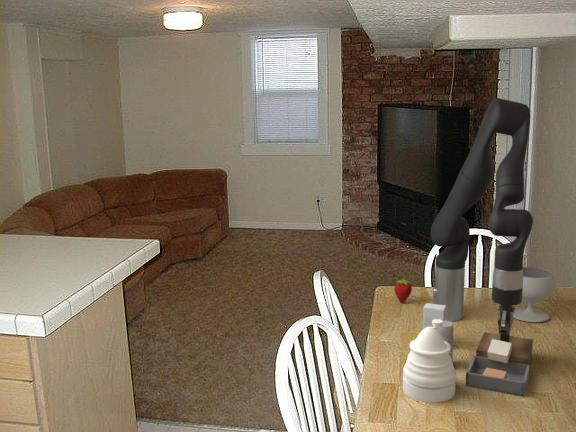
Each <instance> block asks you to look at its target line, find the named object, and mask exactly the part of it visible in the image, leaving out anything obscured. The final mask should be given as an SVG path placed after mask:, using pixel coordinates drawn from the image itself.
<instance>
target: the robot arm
mask: <svg viewBox="0 0 576 432" xmlns="http://www.w3.org/2000/svg"><path fill="white" fill-rule="evenodd" d="M530 110H531V109H530V107H529V106H528V105H527V104H526V103H523V102H518V101H514V100H508V99H503V98H494V99H493V100H491V102H490V103H489V105H488V106H487V108H486V109H485V112H484V115H483V118H482V120H481V123H480V126H479V128H478V131H477V134H476V137H475V139H474V142H473V144H472V147H471V149H470V150H469V153H468V155H467V157H466V159H465V161H464V162H463V165H462V166H461V169H460V170H459V173H458V175H457V177H456V179H455V182H454V185H452V186H453V187H452V188H451V191H449V195H448V196H447V198H446V200H445V202H444V204H443V206H442V208H441V209H440V210H439V212H438V213H437V215H436V217H435V218H434V220H433V222H432V225H431V227H430V239H431V241H432V243H433V244H434V245H435V246H437V247H440V248H444V250H442V251H441V252H440V253H439V254H437V255H436V257H435V266H434V267H435V268H434V269H435V270H434V273H435V274H434V288H433V289H432V304H438V305H446V306H447V308H446V320H447V321H450V322H456V321H461V320H462V319H463V318H464V308H465V307H464V306H465V305H464V303H465V276H466V275H465V273H466V272H465V271H466V261H467V259H468V256H469V247H470V237H471V235H470V233H471V232H470V225H469V223H468V220H467V219H466V218H465V217H463V215H464V214H465V213H466V212H467V211H468V210H469V209H471V208H472V207H473V206H474V205H475V204H476V203H477V202H478V201H479V200H481V198H483V196H484V195H485V193H486V192H487V190H488V188H489V186H490V184H491V182H492V180H493V178H494V176H495V200H494V203H493V208H492V210H491V213H490V216H489V219H488V228H489V231H490V233H491V234H492V235H493V236H495V237H515V239H514V240H512V241H511V242H507V243H501V244H498V245H497V246H496V247H495V249H494V264H493V265H494V266H493V271H492V285H491V286H492V287H491V288H492V289H491V300H492V301H493V303H496V304H497V305H498V304H499V305H498V308H497V314H496V315H497V316H498V317H497V318H498V319H497V326H498V334H500V341H504V342H509V340H510V336H511V332H512V327H513V323H514V317H513V316H514V313H515V309H516V307H515V306H518V305H521V303H522V302H523V299H522V293H523V267H524V253H525V249H526V245H527V242H528V239H529V237H530V235H531V231H532V229H533V225H534V217H533V216H532V213H531V212H530V211H529V210H527V209H523V208H522V209H521V208H520V209H518V208H517V209H516V208H515V209H513V208H506V207H509V206H514V205H518V204H521V203H522V202H523V201H524V199H525V162H526V155H527V149H528V141H529V136H530V135H529V134H530V127H531V111H530ZM496 133H497V134H500V135H505V136H510V137H511V139H512V144H511V147H510V149H509V151H508V153H507V154H506V155H505V156H504V158H503V159H502V160H501V162H500V163H499V164H498V167H497V169H496V173H495V168H494V162H493V158H492V152H491V143H492V140H493V138H494V136H495V134H496Z"/></svg>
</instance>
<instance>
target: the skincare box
mask: <svg viewBox="0 0 576 432" xmlns="http://www.w3.org/2000/svg"><path fill="white" fill-rule="evenodd" d="M446 308H447V306H446V305H438V304H433V303H429V302H428V303H427V302H426V303H425V305H424V306H423V309H422V314H423V317H422V318H423V319H422V322H423V323H422V330H423V329H425V328H426V327H433V324H432V320H433V319H440V320H446Z"/></svg>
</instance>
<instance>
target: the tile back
mask: <svg viewBox="0 0 576 432" xmlns="http://www.w3.org/2000/svg"><path fill="white" fill-rule="evenodd" d="M511 350H512V343H509V342H504V341H500V340H495V339H492V341H491V343H490V346H489V349H488V352H487V353H488V359H491V360H495V361H500V362H504V363H508V360H509V357H510V354H511Z"/></svg>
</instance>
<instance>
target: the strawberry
mask: <svg viewBox="0 0 576 432" xmlns="http://www.w3.org/2000/svg"><path fill="white" fill-rule="evenodd" d="M405 278H406V276H404V277H403V278H402V279H401V280H399V279H398V280H395V282H396V284H395V285H394V288H393V289H394V294H395V296H396V298H397V299H398V300H399V302H400V304H405V302H406V301H407V300H408V299H409V297H410V295H411V294H412V290H413V288H412V284H411V282H410V281H409V280H405Z"/></svg>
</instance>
